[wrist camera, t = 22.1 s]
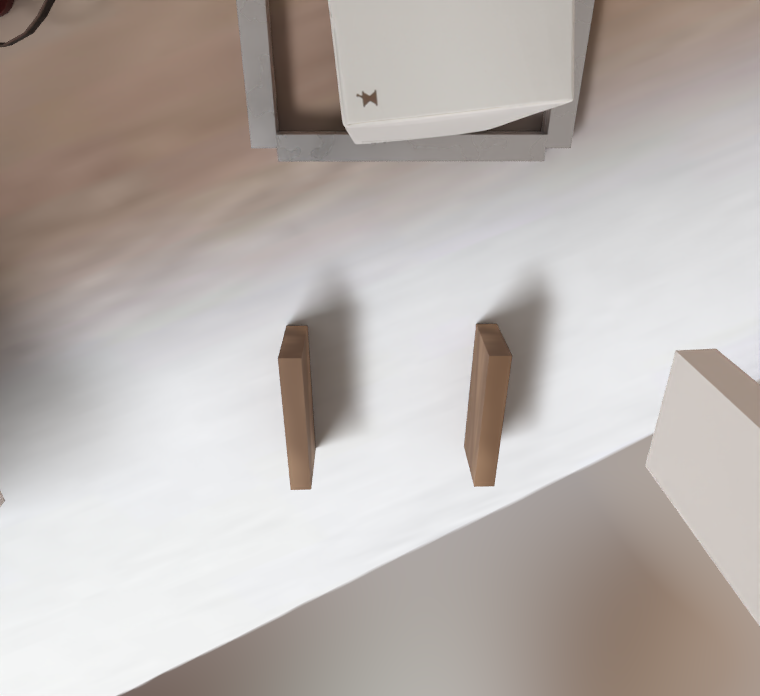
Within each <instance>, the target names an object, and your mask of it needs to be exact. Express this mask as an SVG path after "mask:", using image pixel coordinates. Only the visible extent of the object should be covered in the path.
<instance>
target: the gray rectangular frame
mask: <svg viewBox="0 0 760 696" xmlns="http://www.w3.org/2000/svg"><path fill="white" fill-rule="evenodd" d="M594 1H595V0H575V19H574V100H573V101H572V102H569V103H566V104H563V105H560V106H557V107H554V108H551V109H548V110H545V111H544V112H543V119H542V127H541V131H479V132H472V133H466V134H459V135H450V136H441V137H431V138H422V139H412V140H402V141H391V142H380V143H369V144H355V143H354V141H353V140H352V138H351V137H350V135H349V133H348V132H347V131H279V124H278V111H277V98H276V85H275V73H274V60H273V47H272V35H271V22H270V9H269V0H236V3H237V13H238V23H239V32H240V42H241V52H242V62H243V71H244V81H245V91H246V100H247V110H248V120H249V130H250V139H251V148H277V153H278V161H544V157H545V150H546V148H571V143H572V137H573V130H574V124H575V118H576V112H577V106H578V100H579V94H580V87H581V81H582V75H583V69H584V63H585V57H586V50H587V44H588V38H589V32H590V26H591V20H592V14H593V7H594Z"/></svg>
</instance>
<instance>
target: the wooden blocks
mask: <svg viewBox="0 0 760 696" xmlns="http://www.w3.org/2000/svg"><path fill="white" fill-rule="evenodd" d="M511 360H512V355H511V352H510V350H509V348H508V346H507V344H506V342H505V340H504V338H503V336H502V334H501V332H500V330H499V327H498V325H497V324H476V331H475V341H474V351H473V362H472V372H471V382H470V392H469V402H468V412H467V423H466V433H465V443H464V448H465V452H466V456H467V460H468V464H469V468H470V472H471V476H472V479H473V483H474V487H475V486H494V484H495V477H496V469H497V462H498V455H499V448H500V440H501V433H502V426H503V419H504V411H505V404H506V397H507V390H508V382H509V375H510V368H511ZM278 364H279V374H280V385H281V395H282V405H283V415H284V425H285V436H286V446H287V456H288V466H289V477H290V487H291V490H305V489H311V485H312V476H313V468H314V459H315V450H316V447H315V432H314V417H313V402H312V387H311V371H310V356H309V341H308V326H286V330H285V333H284V337H283V341H282V345H281V349H280V353H279V356H278Z"/></svg>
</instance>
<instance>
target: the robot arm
mask: <svg viewBox="0 0 760 696" xmlns="http://www.w3.org/2000/svg"><path fill="white" fill-rule="evenodd" d="M645 466H646V467H647V469H648V470H649V472H650V473H651V475H652V476H653V477H654V479H655V480H656V482H657V483H658V484H659V486H660V487H661V489H662V490H663V492H664V493H665V494H666V496H667V497H668V498H669V500H670V501H671V502H672V504H673V506H674V507H675V508H676V510H677V511H678V512H679V514H680V515H681V517H682V518H683V520H684V521H685V522H686V524H687V525H688V527H689V528H690V529H691V531H692V532H693V534H694V535H695V536H696V538H697V539H698V541H699V542H700V543H701V545H702V546H703V548H704V549H705V550H706V552H707V553H708V555H709V556H710V558H711V559H712V560H713V562H714V563H715V564H716V566H717V567H718V569H719V570H720V571H721V573H722V574H723V576H724V577H725V579H726V580H727V581H728V583H729V584H730V586H731V587H732V588H733V590H734V591H735V593H736V594H737V595H738V597H739V598H740V599H741V601H742V602H743V604H744V605H745V607H746V608H747V609H748V611H749V612H750V614H751V615H752V616H753V618H754V619H755V621H756V622H757V623H758V625H759V626H760V384H758V383H757V382H756V381H755V380H753V379H752V378H751V377H750V376H749V375H747V374H746V373H745V372H744V371H742V370H741V369H740V368H739V367H738V366H736V365H735V364H734V363H733V362H731V361H730V360H729V359H728V358H727V357H725V356H724V355H723V354H722V353H720V352H719V351H718V350H717V349H701V350H680V351H675V355H674V359H673V363H672V366H671V370H670V374H669V378H668V382H667V385H666V389H665V393H664V397H663V401H662V404H661V408H660V412H659V416H658V419H657V423H656V427H655V431H654V435H653V438H652V442H651V446H650V450H649V454H648V457H647V461H646V465H645ZM4 501H5V500H4V497H3V495H2V493H1V491H0V507H1V505H2V504H3V503H4Z"/></svg>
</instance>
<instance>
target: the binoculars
mask: <svg viewBox="0 0 760 696" xmlns="http://www.w3.org/2000/svg"><path fill="white" fill-rule="evenodd" d="M54 1H55V0H45V1H44V3H43V5H42V7H41V9H40V11H39V13H38V15H37V17H36V18H35V19H34V20H33V22H32V23H31V24H30V25H29V27H28V28H27V29H26V31H25V32H24V33H22V34H21V35H19V36H17V37H15V38H14V39H12V40H10V41H8V42H6V43H0V47H6V46H10V45H13V44H15V43H17V42H18V41H20V40H22V39H24V38H26V37H27V36H29V35H31V34H33V33H34V32H35V31H36V29H37V28H38V27H39V26H40V24H41V23H42V22H43V20H44V19H45V18H46V17H47V15H48V13H49V11H50V9H51V7H52V5H53V3H54ZM13 2H14V0H0V17H1V16H3V15H5V14H6V13H8V11H9V10H10V9H11V8H12V5H13Z"/></svg>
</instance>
